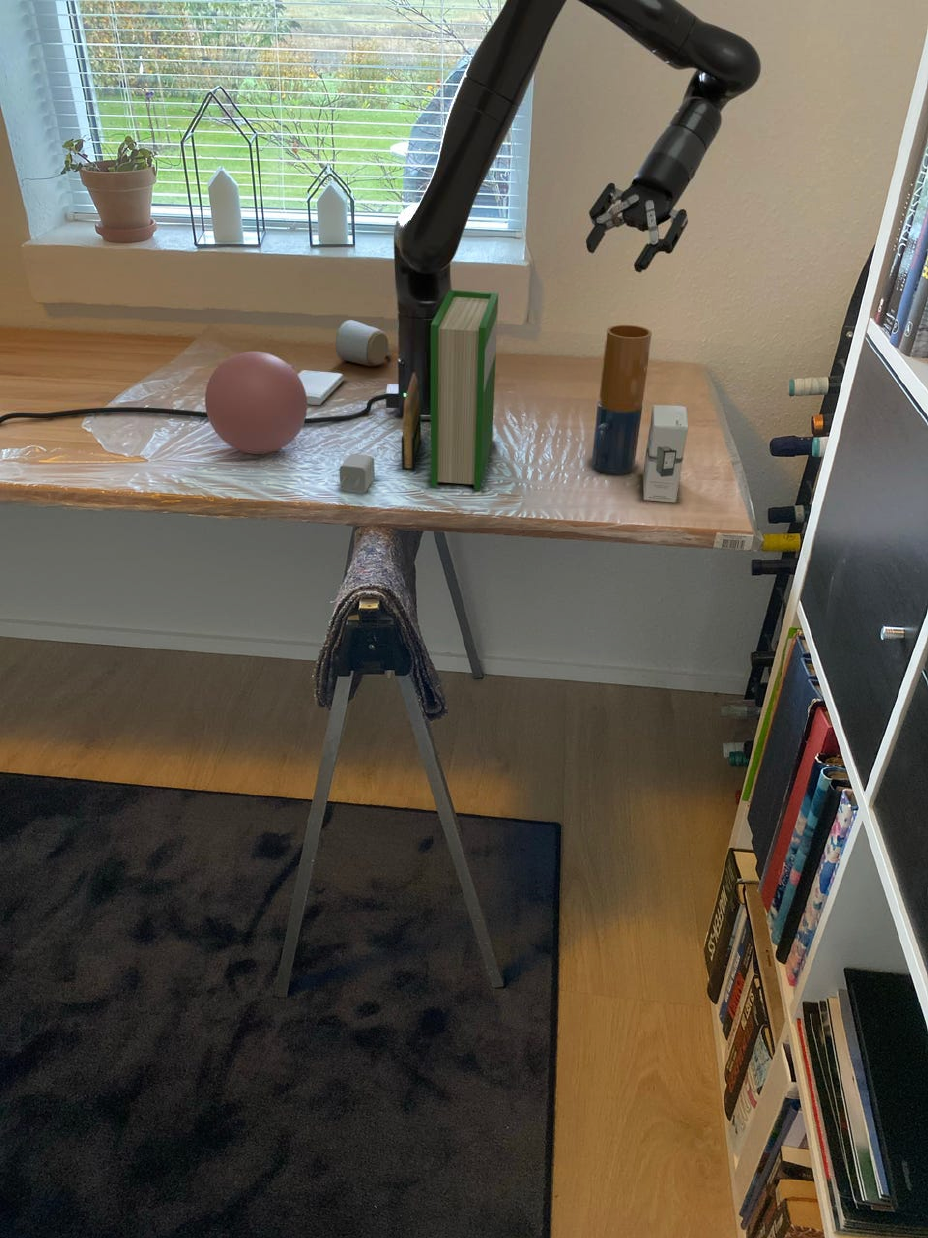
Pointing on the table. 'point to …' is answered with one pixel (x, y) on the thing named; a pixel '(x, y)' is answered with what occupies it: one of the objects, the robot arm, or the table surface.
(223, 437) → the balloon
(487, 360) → the hardback book
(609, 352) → the tumbler
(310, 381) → the hard drive
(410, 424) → the ammunition clip
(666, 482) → the ink box
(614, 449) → the mug
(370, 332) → the ceramic mug
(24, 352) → the table surface
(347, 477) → the usb wall charger
